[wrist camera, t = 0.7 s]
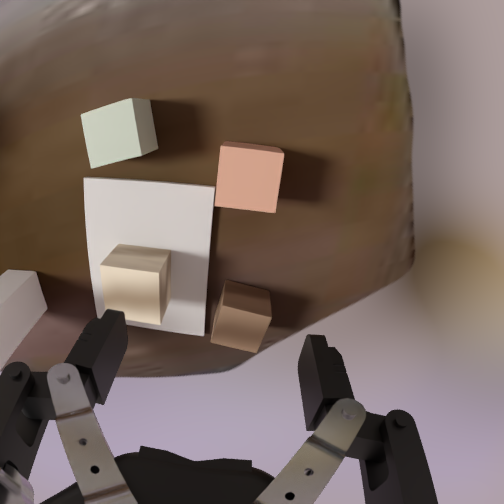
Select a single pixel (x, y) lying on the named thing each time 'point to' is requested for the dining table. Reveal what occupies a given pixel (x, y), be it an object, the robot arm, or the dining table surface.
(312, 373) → the robot arm
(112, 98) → the dining table surface
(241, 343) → the walnut block
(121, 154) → the sage block
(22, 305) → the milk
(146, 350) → the dining table surface
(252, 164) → the terracotta block
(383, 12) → the dining table surface
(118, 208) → the mat
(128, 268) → the birch block
